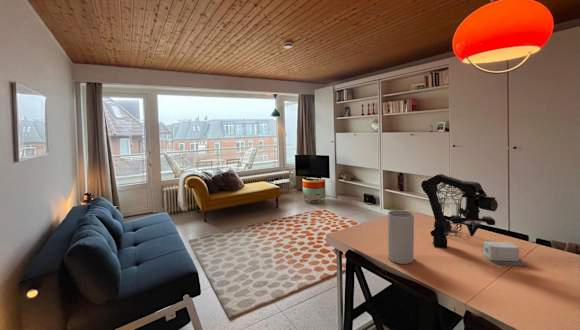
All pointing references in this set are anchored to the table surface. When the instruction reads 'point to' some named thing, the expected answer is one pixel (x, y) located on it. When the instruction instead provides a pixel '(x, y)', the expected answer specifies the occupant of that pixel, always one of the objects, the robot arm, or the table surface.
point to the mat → (510, 263)
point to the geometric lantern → (451, 203)
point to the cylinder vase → (401, 236)
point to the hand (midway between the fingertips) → (471, 236)
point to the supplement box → (501, 251)
